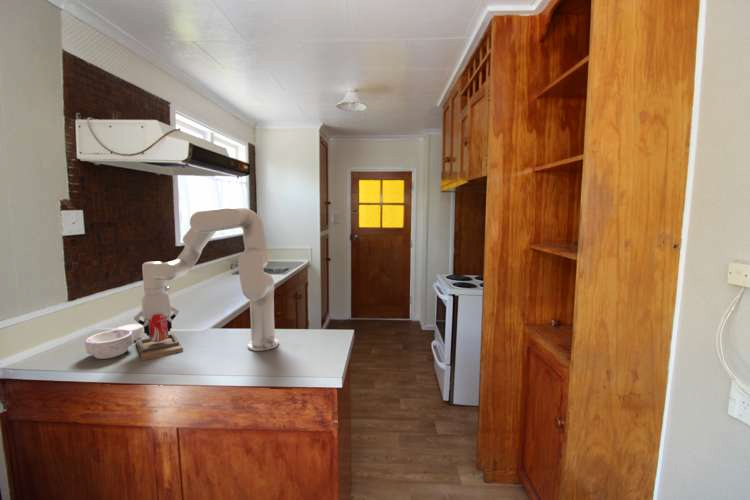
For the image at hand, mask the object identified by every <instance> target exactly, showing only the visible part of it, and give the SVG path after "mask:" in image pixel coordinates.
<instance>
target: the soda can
mask: <svg viewBox="0 0 750 500" xmlns="http://www.w3.org/2000/svg"><path fill="white" fill-rule="evenodd" d="M167 320H168V319H167V317H166V316H165V315H163V314H162V313H159V314H153V316H152V317H151V318H150V320H149V322H148V327H149V336H148V338H149V340H150V341H152V342H160V341H164V340H165V339H166V338H168V334H169V331H168V322H167Z"/></svg>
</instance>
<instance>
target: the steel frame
mask: <svg viewBox="0 0 750 500" xmlns="http://www.w3.org/2000/svg"><path fill="white" fill-rule="evenodd" d="M170 337H172V339H173V341H174V342H173V343H168V344H164V345H159V346H154V347H149V348H144V345H143V343H145V342H150V340H149V337H147V338H148V339H145V338H142V339H143V340H140V339H138V340H139V345H140V348H141V351H142V353H144V352H148V351H153V350H157V349H162V348H167V347H171V346H176V345H179V343H180V341H179V340H178V338H177V336H176V335H175V333H173V334H171V333H168V338H170Z"/></svg>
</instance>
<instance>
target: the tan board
mask: <svg viewBox="0 0 750 500" xmlns="http://www.w3.org/2000/svg"><path fill="white" fill-rule="evenodd" d="M170 334H174V333H173V332H172V333H170ZM148 338H149V337H147V338H139V339H137V340H135V341H136V343H135V344H136V347H137V349H138V352H139V355H140V358H141V361H146V360H151V359H154V358H160V357H164V356H168V355H173V354H177V353H182V352H184V348H183V345H182V344H181V342H179V345H176V346H171V347H167V348H162V349H157V350H153V351H148V352H144V353H142V351H141V348H140V345H139V340H143V339H148ZM173 342H174V341H173V339H172V337H170V338H166V339H165V340H164V341H160V342H152V341H150V342H145V343H143V345H144V348H149V347H154V346H159V345H164V344H168V343H173Z"/></svg>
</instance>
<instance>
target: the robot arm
mask: <svg viewBox="0 0 750 500" xmlns="http://www.w3.org/2000/svg"><path fill="white" fill-rule="evenodd" d="M189 225H190V228H189V229H188V231H187V232H186V233H185V234H184V236H183V237H182V241H183V243H184V247H183V249H182V251H181V252H180V254H179V255H178V256H177V258H176V259H173V260H169V261H167V262H166V261H165V262H163V261H157V260H156V261H153V260H152V261H145V262H144V263H143V264H142V265H141V266H142V268H141V269H142V279H143V280H142V282H143V292H144V293H143V295H141V310H140V311H139V312H138V313H137V314H136V315H135V316H134V317H133V320H134V321H135V322H137V324H141V325H143V334H146V336H148V337H149V327H148V322H149V320H150V318H151V317H152V316H153V314H159V313H162V314H163V315H165V316H166V317H167V322H168V332H171V329H173V328H172V323H173V320H175V318H176V316H177V315H178V314H179V312H180V311H179V310H178V309H176V308H175V307H173V306H171V301H170V296H169V293H168V292H167V291H169V290H170V286H167V285H166V281H173V280H175V279H179V278H181V277H184V276H185V275H187V274H188V273H189V272H190V271H191V270H192V268H193V267H194V266H195V265H196V263H197V262H198V260H199V258H200V257H201V255H202V252H203V249H204V248H205V247H206V245H207V244H208V243H209V241H210V240H211V239H212V238H213V236H214V235H215V234H216V232H220V231H226V230H233V229H239V228H241V229H242V231H243V232H242V240H243V244H244V245H243V246H244V251H243V252H241V254H240V255H239V257H238V260H237V266H238V268H237V269H238V274H239V280H240V287H241V291H242V294H243V295H244V296H245V298H246V299H248V300H249V308H250V309H249V311H250V313H249V314H250V336H251V337H250V338H251V340H250V341H249V342H248V344H247V348H248V349H249V350H251V351H253V352H254V351H255V352H263V351H269V350H272V349H274V348H276V347H277V346H279V344H280V343H279V341H280V340H279V339H278V338H276V336H275V335H276V333H275V299H274V297H275V282H274V281H275V280H274V278H273V277H272V275H271V274H270V273H268V272H265V269H264V268H265V267H267V265H268V263H269V255H268V254H269V253H268V248H267V243H266V235H265V230H264V225H263V222H262V219H261V217H260V216H259V215H258V214H257V212H255V211H254V210H252V209H249V208H246V207H243V206H228V207H220V208H214V209H207V210H198V211H195V212H194V213H192V215H191V217H190V219H189ZM172 312H173V313H172ZM141 317H142V318H143V320H142V319H140V318H141Z"/></svg>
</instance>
